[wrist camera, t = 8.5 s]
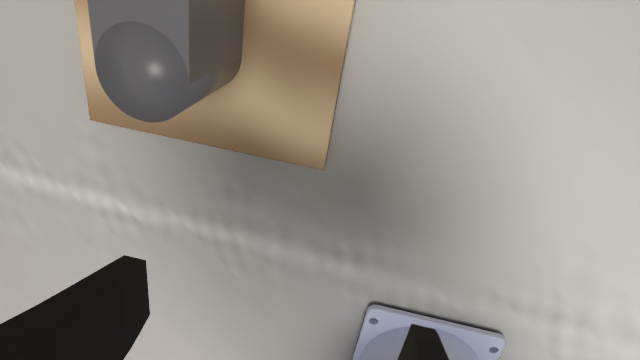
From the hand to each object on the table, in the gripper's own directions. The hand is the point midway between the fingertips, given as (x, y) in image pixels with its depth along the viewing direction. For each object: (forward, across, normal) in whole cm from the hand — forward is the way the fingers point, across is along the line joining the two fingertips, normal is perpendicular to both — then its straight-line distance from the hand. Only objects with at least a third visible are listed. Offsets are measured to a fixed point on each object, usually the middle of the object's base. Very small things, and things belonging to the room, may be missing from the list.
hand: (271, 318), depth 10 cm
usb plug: (+9, +6, -6) cm, 13 cm away
